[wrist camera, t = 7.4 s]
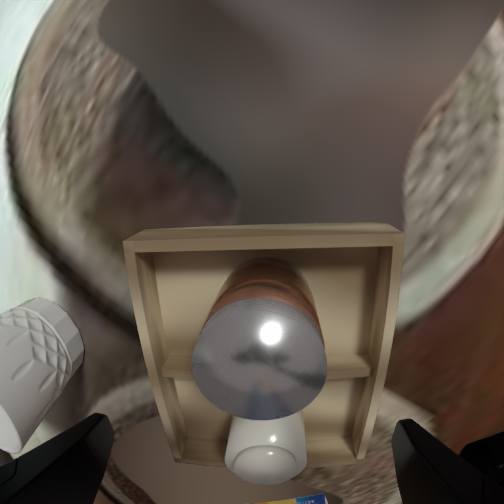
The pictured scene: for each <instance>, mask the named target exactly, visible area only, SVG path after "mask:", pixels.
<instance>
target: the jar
mask: <svg viewBox="0 0 504 504" xmlns="http://www.w3.org/2000/svg"><path fill="white" fill-rule="evenodd" d="M225 463H226V466H227V467H228V469H229V470H230V471H231V472H232V473H234V474H235V475H237V476H239V478H241V479H242V480H244V481H246V482H249V483H252V484H257V485H276V484H281V483H284V482H286V481H288V480H290V479H291V478H293V477H295V476H297V475H298V474H299V473H301V472H302V471H303V469H304V468H305V466H306V463H307V455H306V440H305V426H304V413H303V409H302V410H300V411H299V412H297V413H295V414H292V415H290V416H287V417H284V418H279V419H274V420H250V419H244V418H240V417H236V416H234V415H233V416H232V421H231V427H230V432H229V438H228V443H227V448H226V454H225Z"/></svg>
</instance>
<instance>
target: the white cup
mask: <svg viewBox="0 0 504 504" xmlns="http://www.w3.org/2000/svg"><path fill="white" fill-rule="evenodd" d="M83 355H84V345H83V342H82V339H81V335H80V332H79V330H78V328H77V327H76V325H75V324H74V322H73V321H72V319H71V318H70V316H69V315H68V314H67V313H66V312H65V311H64V310H63V309H62V308H60V307H59V306H58V305H57V304H56V303H55V302H53V301H50V300H47V299H44V298H41V297H37V298H33V299H30V300H27V301H25V302H24V303H22V304H20V305H18V306H17V307H15V308H13V309H9V310H7V311H5V312H3V313H2V314H0V449H2V450H4V451H6V452H9V453H13V454H17V453H20V452H21V451H22V449H23V448H24V446H25V445H26V443H27V442H28V440H29V439H30V437H31V436H32V434H33V433H34V431H35V430H36V429H37V427H38V426H39V424H40V423H41V421H42V420H43V419H44V417H45V416H46V414H47V413H48V412H49V410H50V409H51V408H52V406H53V405H54V403H55V402H56V400H57V399H58V397H59V396H60V394H61V393H62V391H63V390H64V389H65V387H66V384H67V382H68V381H69V380H70V378H71V377H72V375H73V374H74V373H75V372H76V370H77V369H78V368H79V367H80V365H81V364H82V362H83Z"/></svg>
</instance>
